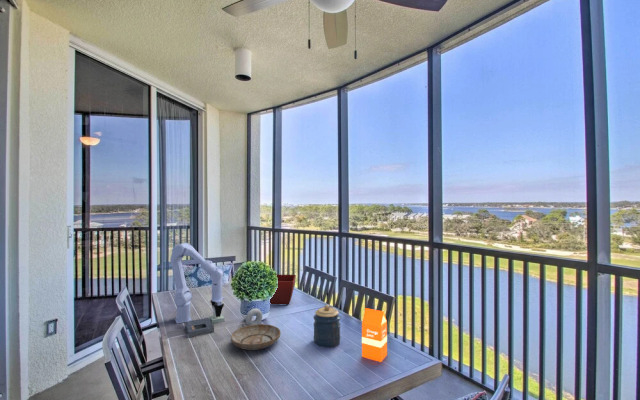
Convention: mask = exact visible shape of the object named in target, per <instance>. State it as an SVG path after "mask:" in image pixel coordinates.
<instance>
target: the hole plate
mask: <svg viewBox="0 0 640 400" xmlns="http://www.w3.org/2000/svg"><path fill="white" fill-rule="evenodd" d="M184 323H185V325H184V326H185V329H186V332H187V336H188V338H193V337H198V336H203V335H207V334H212V333H215V326H214V325H213V324H212V323H211V321H210V319H209V317H205V318H200V319H199V318H198V319H194V320H193V319H192V321H187V322H184Z"/></svg>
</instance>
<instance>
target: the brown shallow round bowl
mask: <svg viewBox="0 0 640 400" xmlns="http://www.w3.org/2000/svg"><path fill="white" fill-rule="evenodd" d="M280 337H281V329H280V328H279V327H277V326H275V325H271V324H267V323H266V324H264V323H262V324H261V323H260V324H258V325H250V326H247V325H245V326H242V327H239V328H238V329H235V331H233V332H232V333H231V336H230V340H231V341H230V342H232V344H233V345H234V346H236V347H237V348H239V349H243V350H249V351H253V350H254V351H256V350H262V349H265V348H268V347H269V346H271V345H274V344H275V343H276V342H277V341H278V340H279V339H280Z"/></svg>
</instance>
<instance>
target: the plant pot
mask: <svg viewBox="0 0 640 400" xmlns="http://www.w3.org/2000/svg"><path fill="white" fill-rule="evenodd" d="M276 275H277V277H278V288H277V290H276V292H275V294H274V295H273V297H272V298H271V299H270V303H271V304H289V305H290V304H291V300H292V297H293V293H294V289H295V283H296V277H297V275H296V274H276ZM270 303H269V304H270Z"/></svg>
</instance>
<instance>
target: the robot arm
mask: <svg viewBox="0 0 640 400" xmlns="http://www.w3.org/2000/svg"><path fill="white" fill-rule="evenodd" d="M184 257H191V258H192V259H193V260H194V261H196V262H197V263H198V264H199V265H200V267H201V270H203V271H204V272H205V273H206V274H207V275H209V276H210V280H211V299H210V304H211V306H212V308H213V306H214V308H215V313H216V317H220V315H221V314H222V311H223V308H224V305H225V304H224V303H222V302H223V300H224V299H225V297H224V296H223V276H224V275H225V274H224V271H223V269H222V268H219V267H218V266H216V265H215V264H214V263H213V261H212V260H209V259H207V260H206V259H205V258H204V257H203V256H202V255H201V254H200V253H199V252H198V251H197V250H196V249H195V248H194V246H193V245H192V244H190V243H189V242H183V243H178V244H176V245H175V246H174V247H173V248H171V255H170V265H171V269H172V274H173V278H174V284H175V289H176V291H175V293H174V297H175V298H174V304H175V306H176V317H174V319H175V323H176V324H178V325H179V324H182V323H186V322H187V321H193V319H192V317H191V301H192V299H193V294H192V291H191V290H190V288H189V287H188V286H187V282H186V277H185V272H184V267H183V262H182V259H183V258H184Z"/></svg>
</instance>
